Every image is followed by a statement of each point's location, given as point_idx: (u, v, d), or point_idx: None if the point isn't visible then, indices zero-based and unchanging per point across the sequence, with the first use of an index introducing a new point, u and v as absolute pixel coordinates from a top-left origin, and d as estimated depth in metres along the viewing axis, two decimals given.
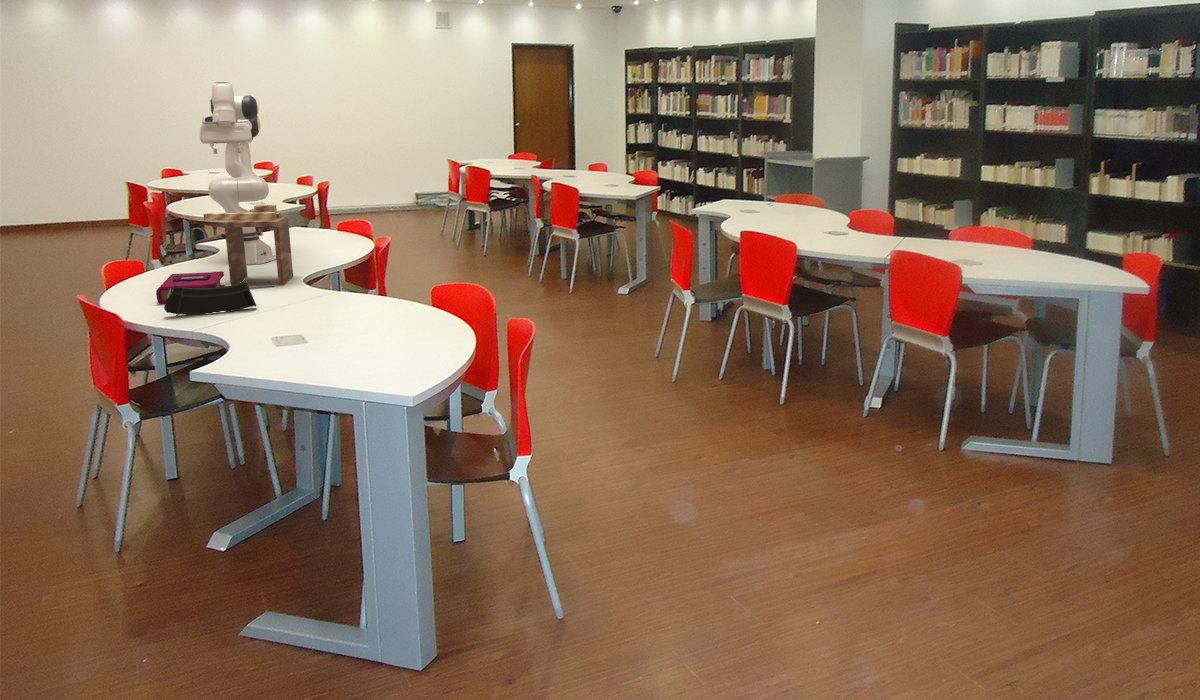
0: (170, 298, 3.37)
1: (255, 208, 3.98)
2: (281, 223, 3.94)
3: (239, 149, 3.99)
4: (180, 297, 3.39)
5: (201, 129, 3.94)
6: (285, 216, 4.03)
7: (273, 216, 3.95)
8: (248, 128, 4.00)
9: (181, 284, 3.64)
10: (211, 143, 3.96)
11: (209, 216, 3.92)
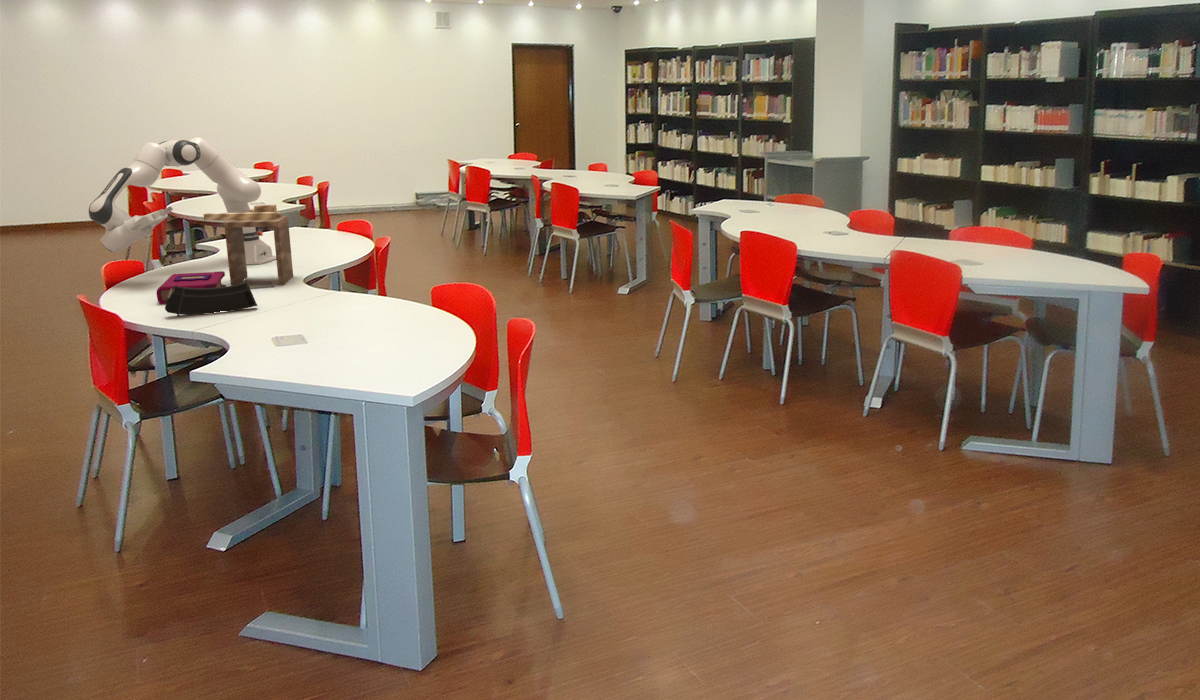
0: (171, 298, 3.37)
1: (255, 208, 3.98)
2: (281, 223, 3.94)
3: (162, 214, 3.87)
4: (181, 297, 3.39)
5: None
6: (285, 216, 4.03)
7: (273, 216, 3.95)
8: (142, 228, 3.83)
9: (181, 284, 3.64)
10: (165, 214, 3.97)
11: (209, 216, 3.92)
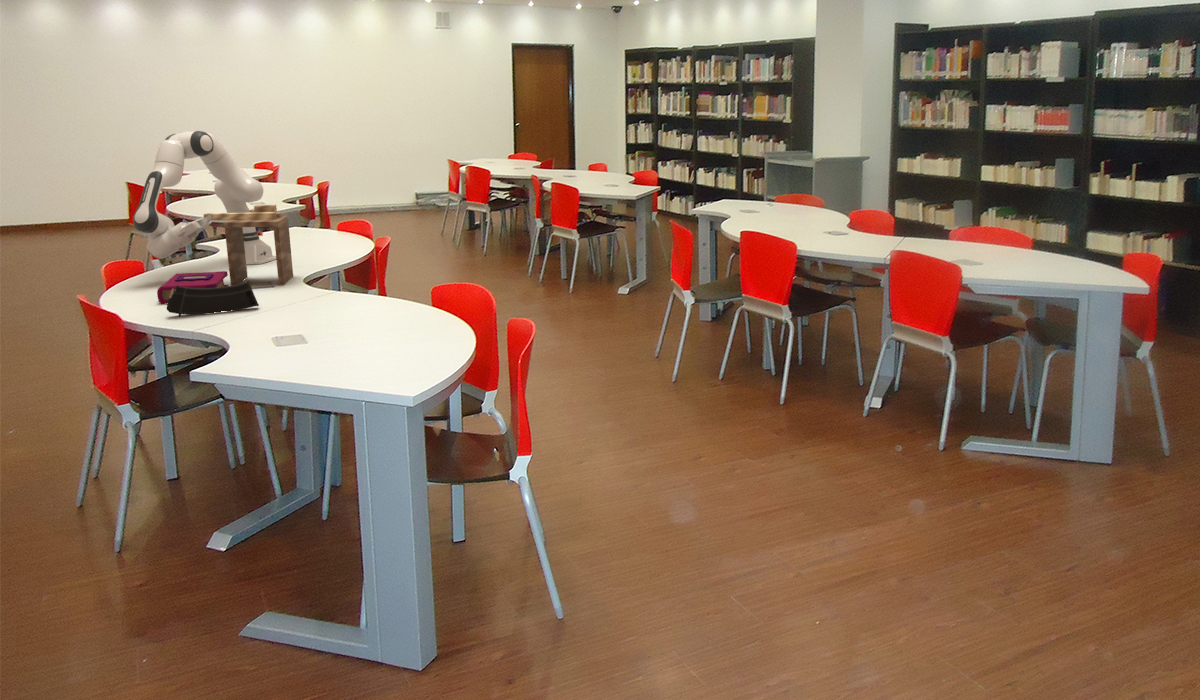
0: (172, 298, 3.38)
1: (255, 208, 3.98)
2: (281, 223, 3.94)
3: (210, 219, 3.92)
4: (182, 297, 3.39)
5: (203, 229, 4.04)
6: (285, 216, 4.03)
7: (273, 216, 3.95)
8: (188, 234, 3.86)
9: (182, 284, 3.64)
10: (208, 221, 3.97)
11: None
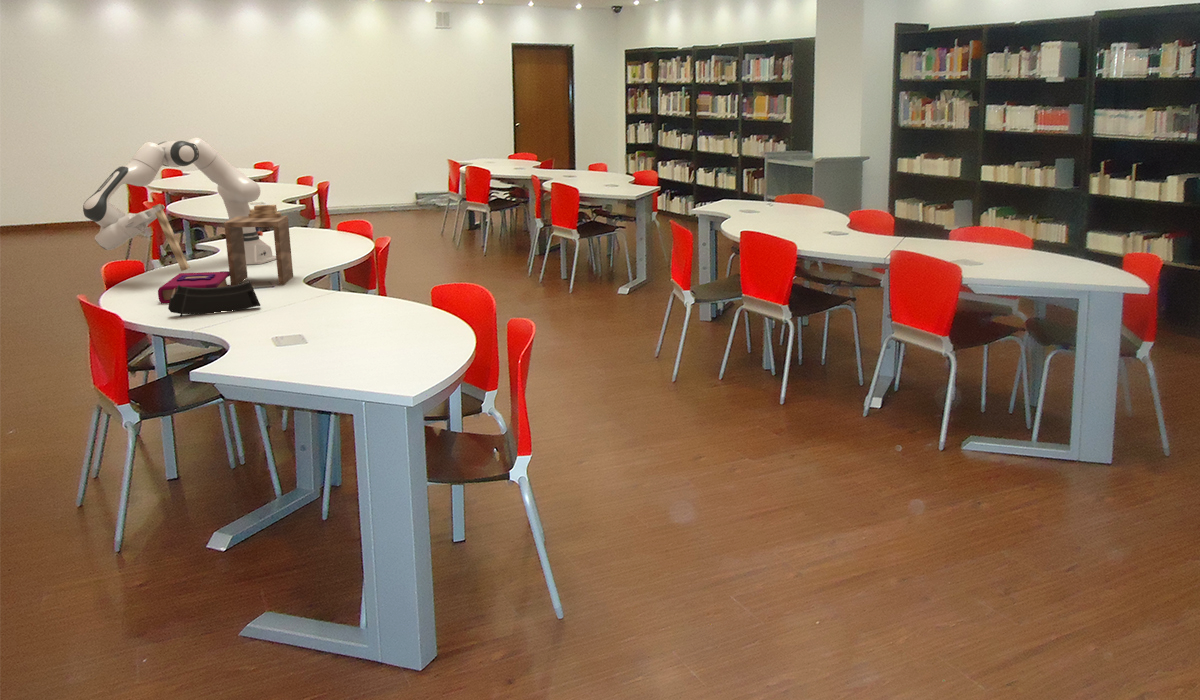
0: (174, 298, 3.38)
1: (255, 208, 3.98)
2: (281, 223, 3.94)
3: None
4: (184, 297, 3.39)
5: (153, 220, 4.01)
6: (285, 216, 4.03)
7: (183, 269, 3.97)
8: (136, 225, 3.83)
9: (183, 284, 3.64)
10: None
11: None
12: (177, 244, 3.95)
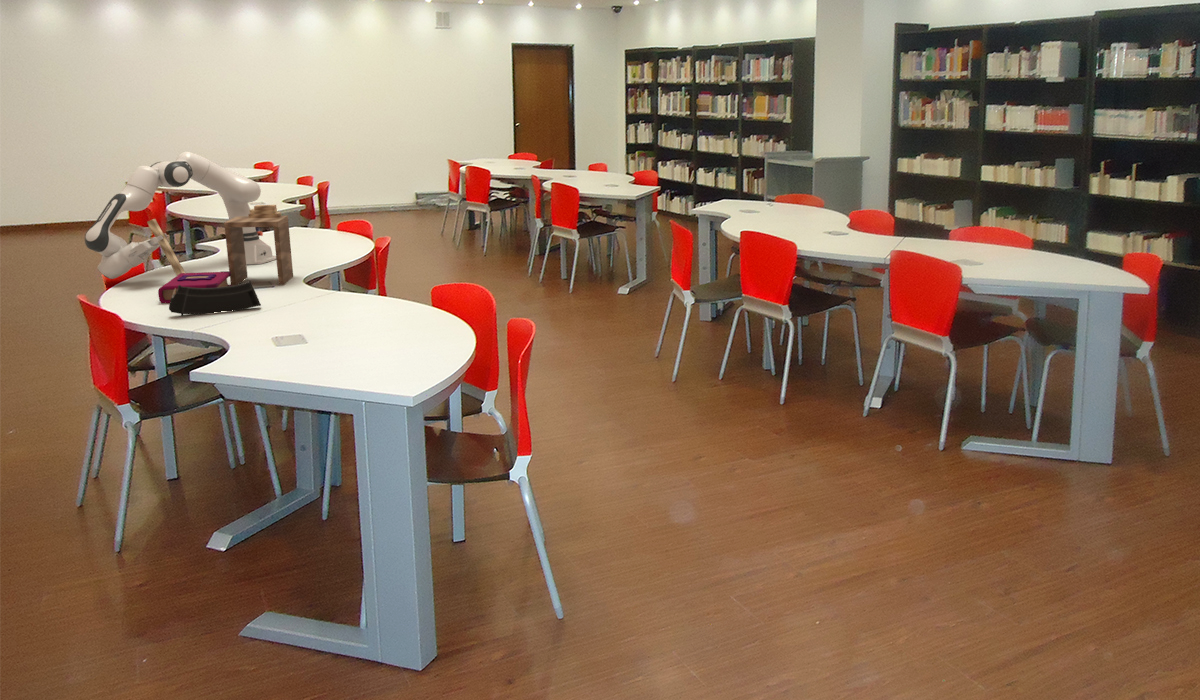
0: (175, 298, 3.38)
1: (255, 208, 3.98)
2: (281, 223, 3.94)
3: (161, 239, 3.92)
4: (185, 297, 3.39)
5: None
6: (285, 216, 4.03)
7: None
8: (138, 255, 3.86)
9: (183, 284, 3.64)
10: None
11: (153, 225, 3.91)
12: (175, 257, 3.96)
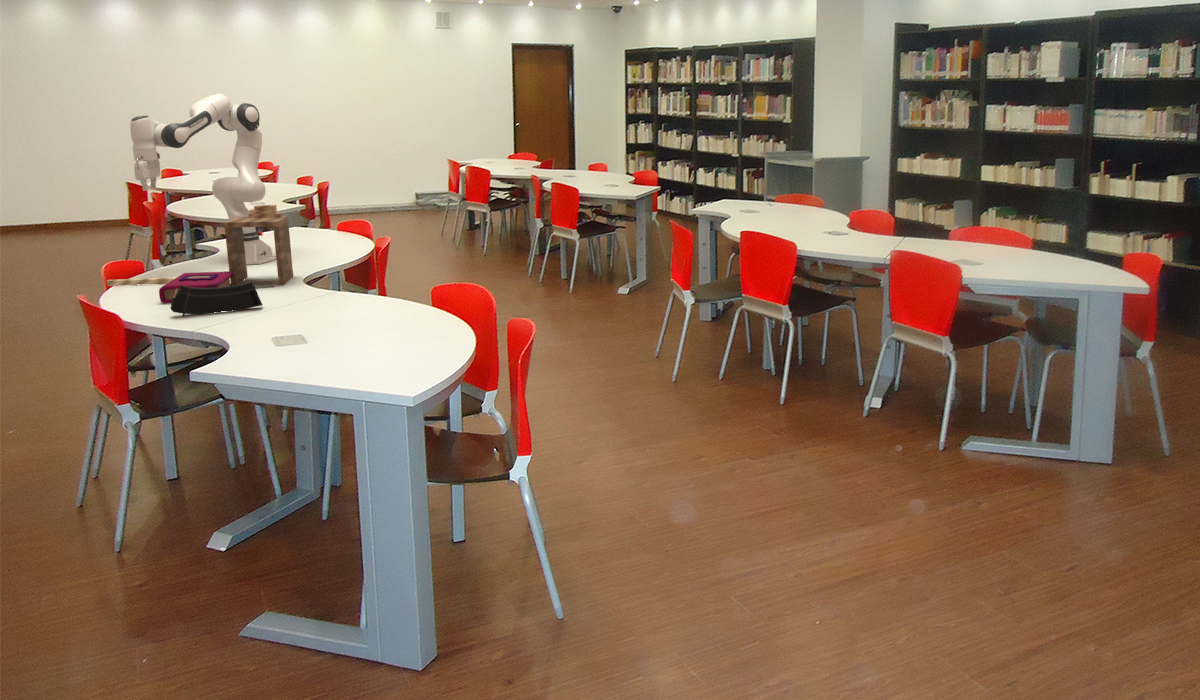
0: (176, 298, 3.38)
1: (255, 208, 3.98)
2: (281, 223, 3.94)
3: None
4: (186, 297, 3.39)
5: None
6: (285, 216, 4.03)
7: None
8: (134, 167, 3.94)
9: (184, 284, 3.65)
10: None
11: (112, 282, 3.94)
12: (152, 278, 3.98)
